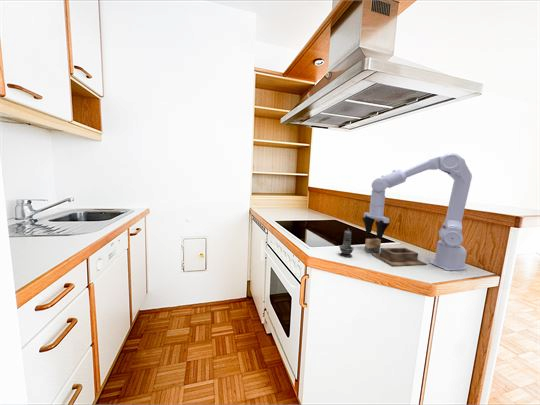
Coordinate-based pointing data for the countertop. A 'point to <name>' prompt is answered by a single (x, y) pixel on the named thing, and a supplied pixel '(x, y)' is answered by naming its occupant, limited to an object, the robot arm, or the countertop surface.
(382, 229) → the robot arm
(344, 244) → the grey stone statuette
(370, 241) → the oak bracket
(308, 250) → the countertop surface
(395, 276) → the countertop surface
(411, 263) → the brown flanged tray
